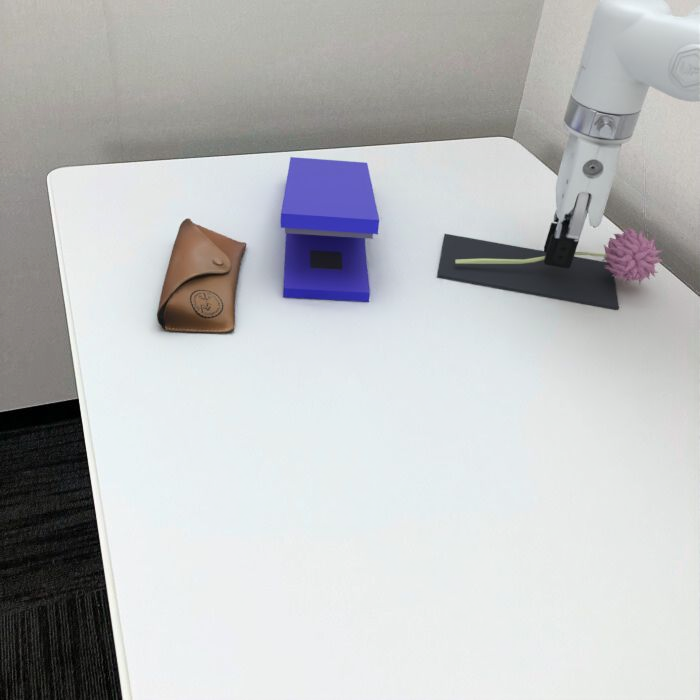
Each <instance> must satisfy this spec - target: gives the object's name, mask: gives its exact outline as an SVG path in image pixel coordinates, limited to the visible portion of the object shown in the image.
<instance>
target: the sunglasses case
mask: <svg viewBox="0 0 700 700" xmlns="http://www.w3.org/2000/svg"><path fill="white" fill-rule="evenodd" d="M178 227H179V228H178V231H177V234H176V237H175V240H174V243H173V247H172V250H171V254H170V258H169V262H168V265H167V269H166V272H165V276H164V279H163V284H162V288H161V292H160V297H159V301H158V302H159V303H158V307H157V313H156V319H157V323H158V324H159V325H160V326H161V327H162V329H164V330H165V331H167V332H177V333H186V334H226V333H230V332H233V331H234V330H235V326H236V315H235V314H236V313H235V312H236V295H237V287H238V280H239V274H240V269H241V264H242V260H243V257H244V254H245V250H246V248H247V243H246V242H244V241H243V242H241V241H238V240H235V239H232V238H231V237H228V236H227V235H223V234H221V233H218V232H216V231H214V230H212V229H209V228H207V227H204V226H202V225H200V224H196V223H194V222H193V221H192V220H191V218H185V219H184V220H182V221H181V223H180V225H179V226H178Z"/></svg>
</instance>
